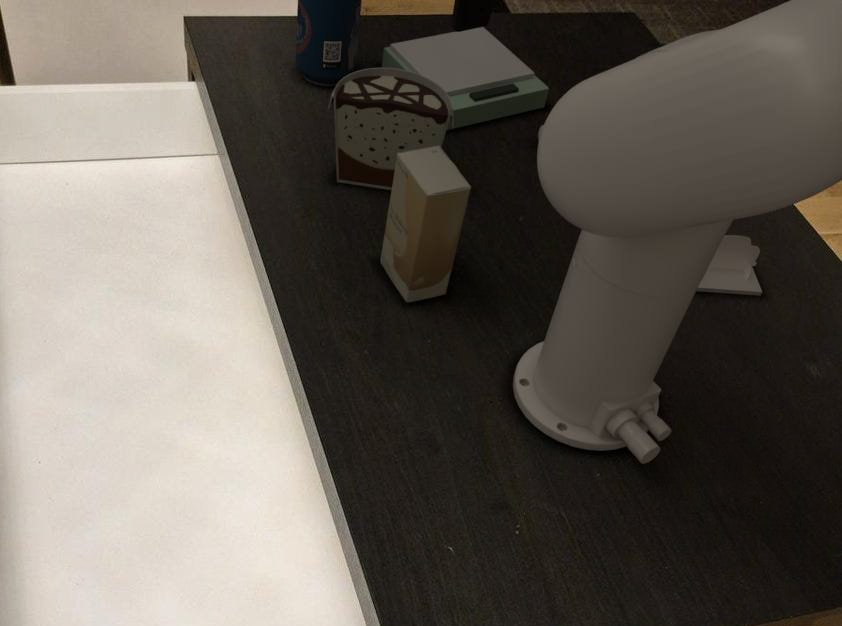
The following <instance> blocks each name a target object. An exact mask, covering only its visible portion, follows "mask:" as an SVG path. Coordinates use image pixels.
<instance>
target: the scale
mask: <svg viewBox="0 0 842 626" xmlns="http://www.w3.org/2000/svg"><path fill="white" fill-rule="evenodd" d="M381 68H395V69H402V70H407V71H410V72H414V73H417V74H419V75H422V76H424V77H426V78H428V79H430V80H432V81H434V82H435V83H437V84H438V85H439V86H440V87H442V88H443V89H444V91H445V92H446V93H447V94H448V96H449V98H450V100H451V103H452V108H453V115H454V129H458V128H463V127H467V126H471V125H476V124H480V123H483V122H484V123H485V122H487V121H492V120H496V119H501V118H504V117H509V116H514V115H517V114H521V113H525V112H531V111H534V110H538V109H542V108H545V107H546V102H547V98H548V95H549V92H550V88H549V87H548V86H547V84H546V83H544V82H543V81H542V80H541V79H540V78H538V77H537V76H536V75H535V72H534V71H533V70H532V69H531V68H530V67H528V66H527V64H525V63H524V62H523V61H522V59H521V60H520V58H518V57H517V56H516V54H514V53H513V52H512V51H511V50H510V49H508V48H507V47H506V45H504V44H503V43H502V42H500V40H499V39H497V38H496V37H495V36H494V35H493V34H492V33H490V31H489V30H487V29H486V28H485V27H480V28H475V29H471V30H466V31H461V32H456V31H452V32H447V33H446V32H445V33H442V34H437V35H431V36H426V37H420V38H415V39H410V40H405V41H399V42H393V43H390V45H389V46H386V47H383V54H382V61H381ZM450 130H453V129H452V122H451V119H450V120H449V123H448V126H447V130H446V131H450Z"/></svg>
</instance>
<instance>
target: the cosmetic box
mask: <svg viewBox="0 0 842 626" xmlns="http://www.w3.org/2000/svg"><path fill="white" fill-rule="evenodd" d="M471 189H472V185H470V184H469V182H468V181H467V179H466V178H465V177H464V175H463V174H462V173H461V172H460V170H459V169H458V167H457V166H456V164H455V163H454V162H453V161H452V160H451V159H450V157H449V156H448V155H447V153H446V152H445V151H444V150H443V148H442V146H441V147H440V146H433V147H427V148H421V149H416V150H410V151H405V152H401V153H397V159H396V166H395V172H394V178H393V185H392V190H390V191H391V192H390V198H389V204H388V210H387V217H386V223H385V229H384V235H383V241H382V247H381V253H380V254H381V255H380V264H381V266H382V267H383V269H384V271H385V272H386V274H387V276H388V277H389V279H390V280H391V282H392V284H393V285H394V287H395V288H396V290H397V291H398V292H399V294H400V296H401V297H402V298H403V300H404V301H405V302H406V303H409V304H410V303H414V302H418V301H423V300H428V299H432V298H436V297H440V296H445V295H446V294H447V290H448V286H449V283H450V277H451V273H452V270H453V265H454V261H455V256H456V253H457V248H458V243H459V240H460V236H461V231H462V227H463V223H464V219H465V218H464V217H465V214H466V211H467V206H468V202H469V197H470V194H471Z"/></svg>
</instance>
